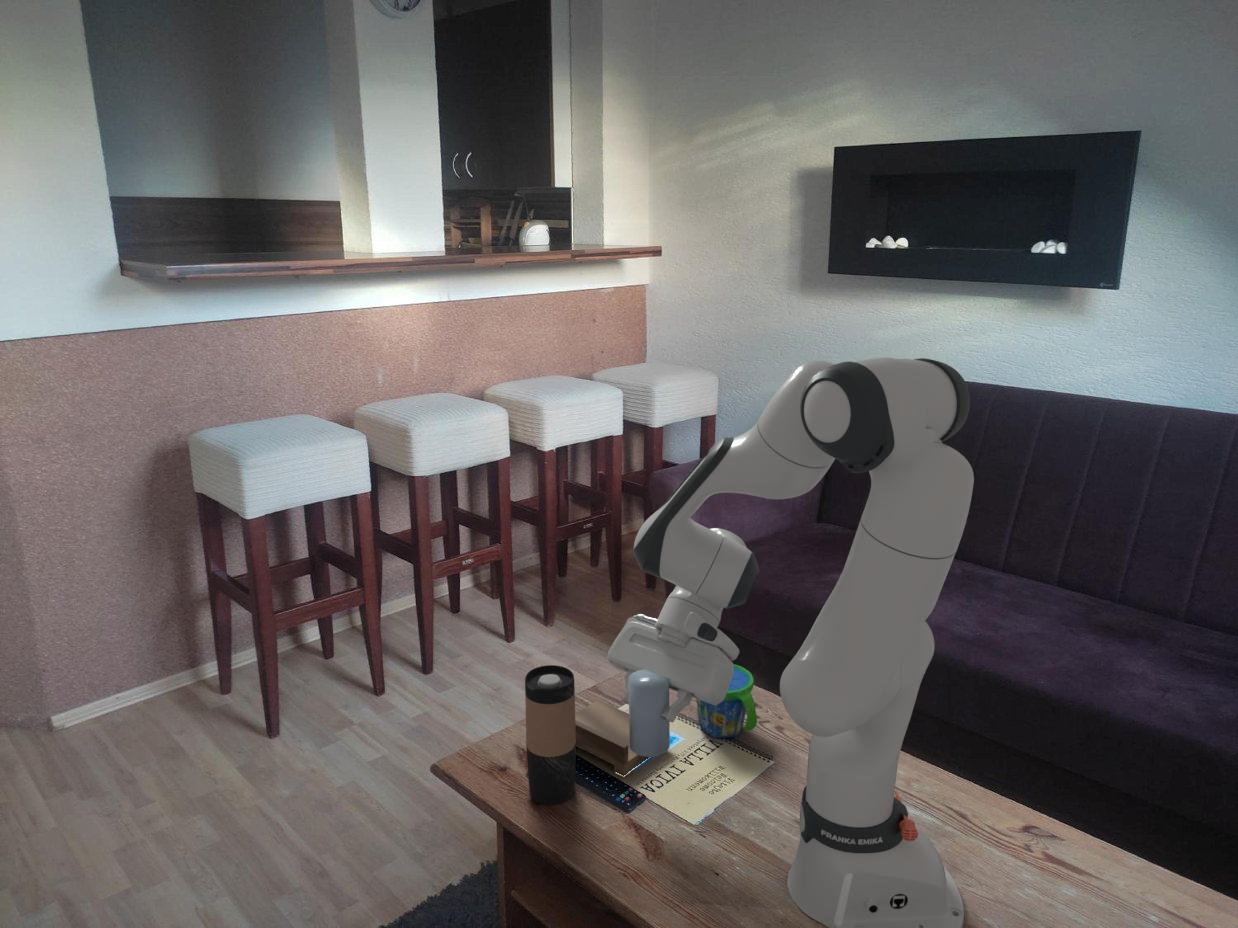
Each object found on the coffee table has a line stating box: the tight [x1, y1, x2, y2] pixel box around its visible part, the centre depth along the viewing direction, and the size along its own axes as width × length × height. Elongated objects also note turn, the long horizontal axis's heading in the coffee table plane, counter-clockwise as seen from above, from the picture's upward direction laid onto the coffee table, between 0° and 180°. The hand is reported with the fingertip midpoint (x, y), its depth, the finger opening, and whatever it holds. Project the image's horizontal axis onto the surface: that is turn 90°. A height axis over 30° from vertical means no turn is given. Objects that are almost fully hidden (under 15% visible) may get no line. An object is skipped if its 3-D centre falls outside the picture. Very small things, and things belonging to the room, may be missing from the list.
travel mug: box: [524, 664, 577, 806], centre depth 138 cm, size 8×8×20 cm
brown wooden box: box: [575, 699, 649, 776], centre depth 152 cm, size 12×16×6 cm
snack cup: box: [695, 663, 758, 739], centre depth 156 cm, size 16×10×10 cm
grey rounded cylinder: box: [628, 670, 671, 758], centre depth 133 cm, size 6×6×11 cm
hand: (646, 711), depth 132 cm, fingers closed on grey rounded cylinder, 6 cm apart
